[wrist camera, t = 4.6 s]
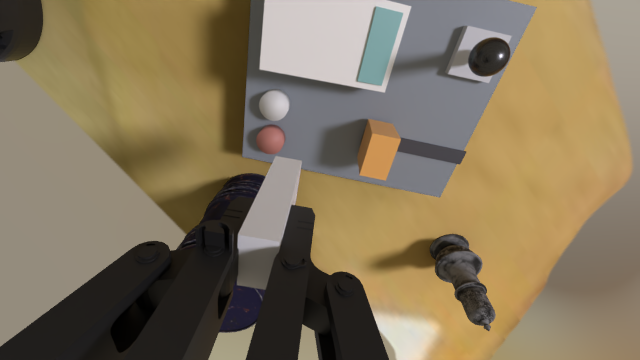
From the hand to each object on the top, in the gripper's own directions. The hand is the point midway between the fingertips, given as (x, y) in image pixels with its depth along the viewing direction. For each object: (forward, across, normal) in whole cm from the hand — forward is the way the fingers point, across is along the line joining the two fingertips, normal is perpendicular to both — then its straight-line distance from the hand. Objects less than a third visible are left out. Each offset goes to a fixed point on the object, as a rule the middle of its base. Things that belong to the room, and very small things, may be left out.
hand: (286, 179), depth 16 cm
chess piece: (+16, +22, -16) cm, 32 cm away
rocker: (+10, +1, +7) cm, 13 cm away
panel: (+16, +5, +3) cm, 17 cm away
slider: (+12, +7, -1) cm, 14 cm away
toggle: (+11, +13, +8) cm, 19 cm away
